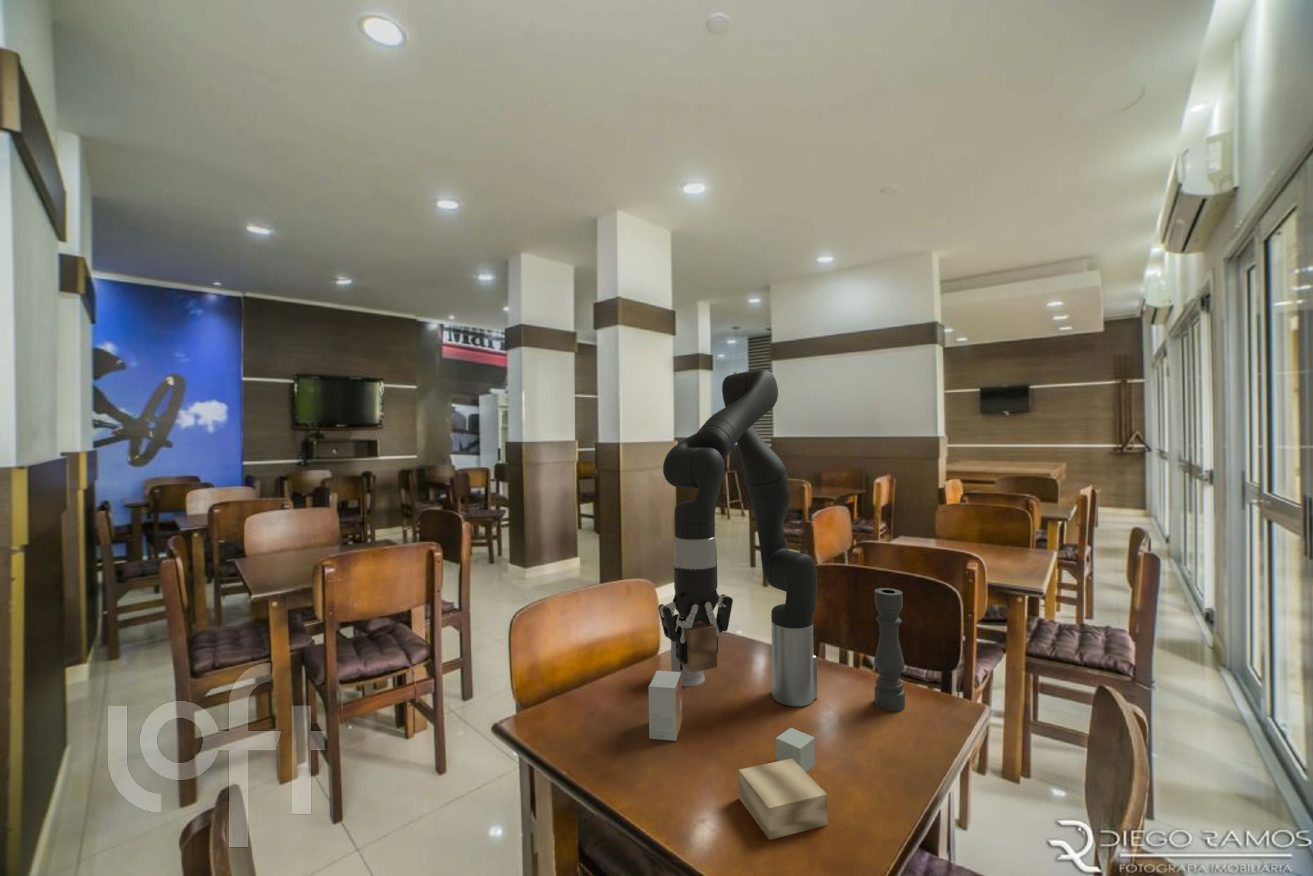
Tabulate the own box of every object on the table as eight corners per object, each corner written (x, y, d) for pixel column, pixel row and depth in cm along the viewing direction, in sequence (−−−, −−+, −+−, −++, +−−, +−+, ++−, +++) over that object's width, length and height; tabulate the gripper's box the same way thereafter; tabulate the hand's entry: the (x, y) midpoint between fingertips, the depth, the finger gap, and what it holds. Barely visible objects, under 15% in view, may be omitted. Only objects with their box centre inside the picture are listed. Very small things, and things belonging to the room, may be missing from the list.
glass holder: (703, 670, 142) (702, 612, 141) (709, 696, 127) (708, 631, 127) (669, 671, 141) (668, 612, 141) (671, 697, 127) (670, 632, 127)
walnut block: (702, 656, 100) (702, 618, 100) (717, 667, 96) (716, 626, 95) (678, 662, 98) (677, 622, 98) (691, 672, 93) (690, 631, 93)
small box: (676, 742, 109) (675, 688, 109) (648, 739, 110) (647, 686, 110) (682, 721, 116) (682, 671, 116) (656, 719, 118) (656, 669, 118)
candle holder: (908, 703, 123) (907, 590, 123) (900, 714, 118) (898, 597, 118) (880, 695, 127) (878, 586, 127) (870, 705, 122) (869, 592, 122)
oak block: (792, 787, 95) (792, 758, 95) (827, 826, 85) (827, 794, 85) (739, 799, 92) (738, 769, 92) (769, 841, 82) (768, 808, 82)
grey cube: (791, 754, 104) (790, 727, 104) (815, 765, 101) (815, 737, 101) (776, 765, 101) (776, 737, 101) (800, 777, 97) (800, 748, 97)
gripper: (719, 553, 103) (721, 645, 103) (649, 562, 97) (650, 659, 97) (742, 561, 96) (743, 659, 96) (667, 571, 90) (669, 676, 90)
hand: (697, 659), depth 97 cm, fingers closed on walnut block, 5 cm apart
